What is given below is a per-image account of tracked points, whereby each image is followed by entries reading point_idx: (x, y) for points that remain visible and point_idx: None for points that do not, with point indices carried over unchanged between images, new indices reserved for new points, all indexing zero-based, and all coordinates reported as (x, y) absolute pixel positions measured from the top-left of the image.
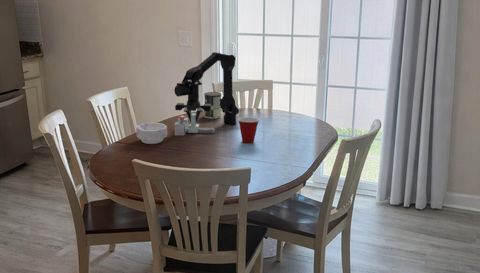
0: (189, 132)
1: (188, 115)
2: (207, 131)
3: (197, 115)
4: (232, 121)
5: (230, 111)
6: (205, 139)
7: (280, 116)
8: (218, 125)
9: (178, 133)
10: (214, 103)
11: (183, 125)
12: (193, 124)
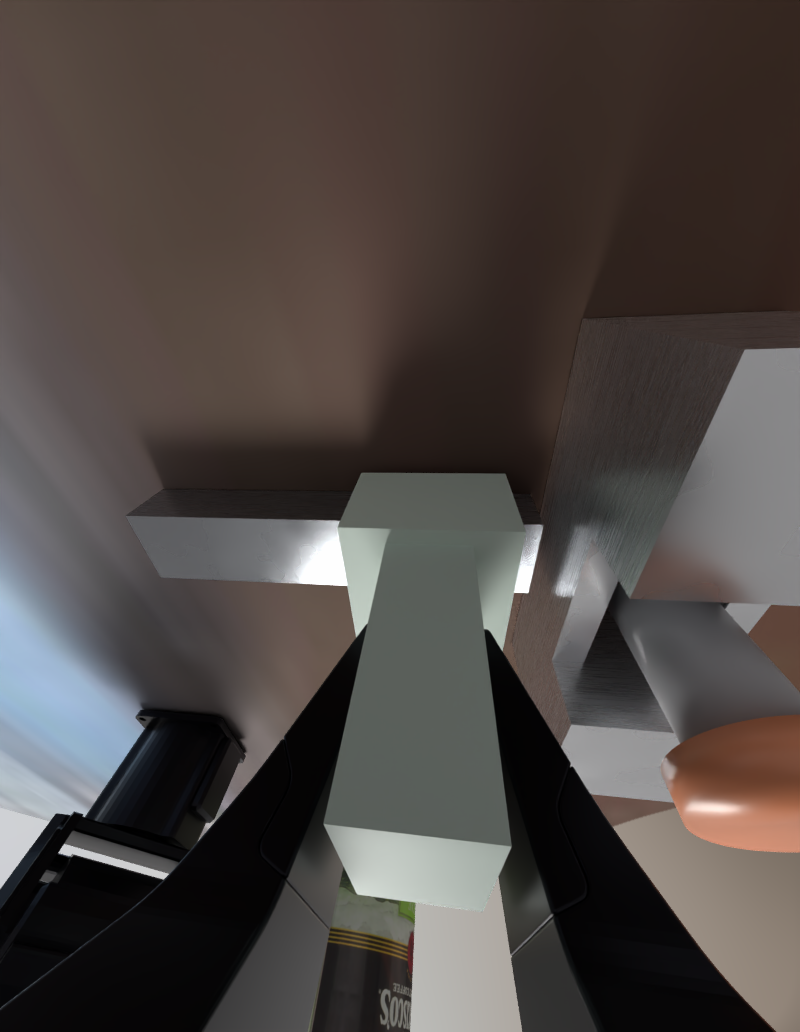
0: (489, 474)
1: (601, 839)
2: (228, 504)
3: (266, 813)
4: (148, 742)
5: (67, 862)
6: (74, 50)
7: (34, 794)
8: (258, 704)
9: (726, 314)
10: None
11: (732, 343)
12: (421, 568)
